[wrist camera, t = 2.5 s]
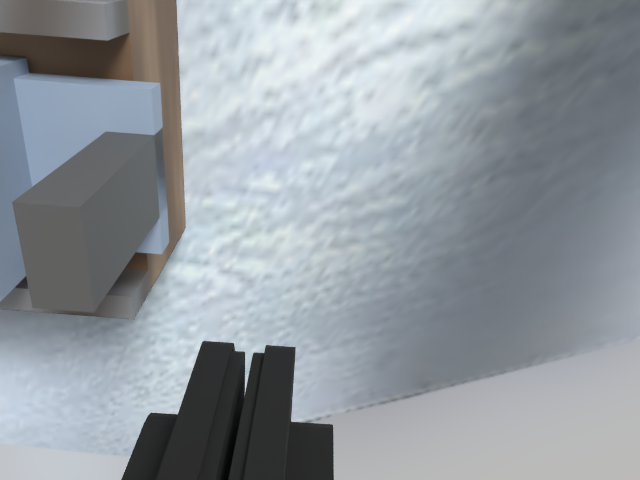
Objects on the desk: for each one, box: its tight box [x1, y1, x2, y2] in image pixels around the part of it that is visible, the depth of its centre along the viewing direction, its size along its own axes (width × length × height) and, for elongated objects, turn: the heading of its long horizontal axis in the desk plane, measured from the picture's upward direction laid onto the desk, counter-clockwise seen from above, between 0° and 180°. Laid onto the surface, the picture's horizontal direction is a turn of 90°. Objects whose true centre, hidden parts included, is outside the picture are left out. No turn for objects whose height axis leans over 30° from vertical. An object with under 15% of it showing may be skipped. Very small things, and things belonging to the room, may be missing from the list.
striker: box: [0, 55, 169, 313], centre depth 17 cm, size 6×7×7 cm
